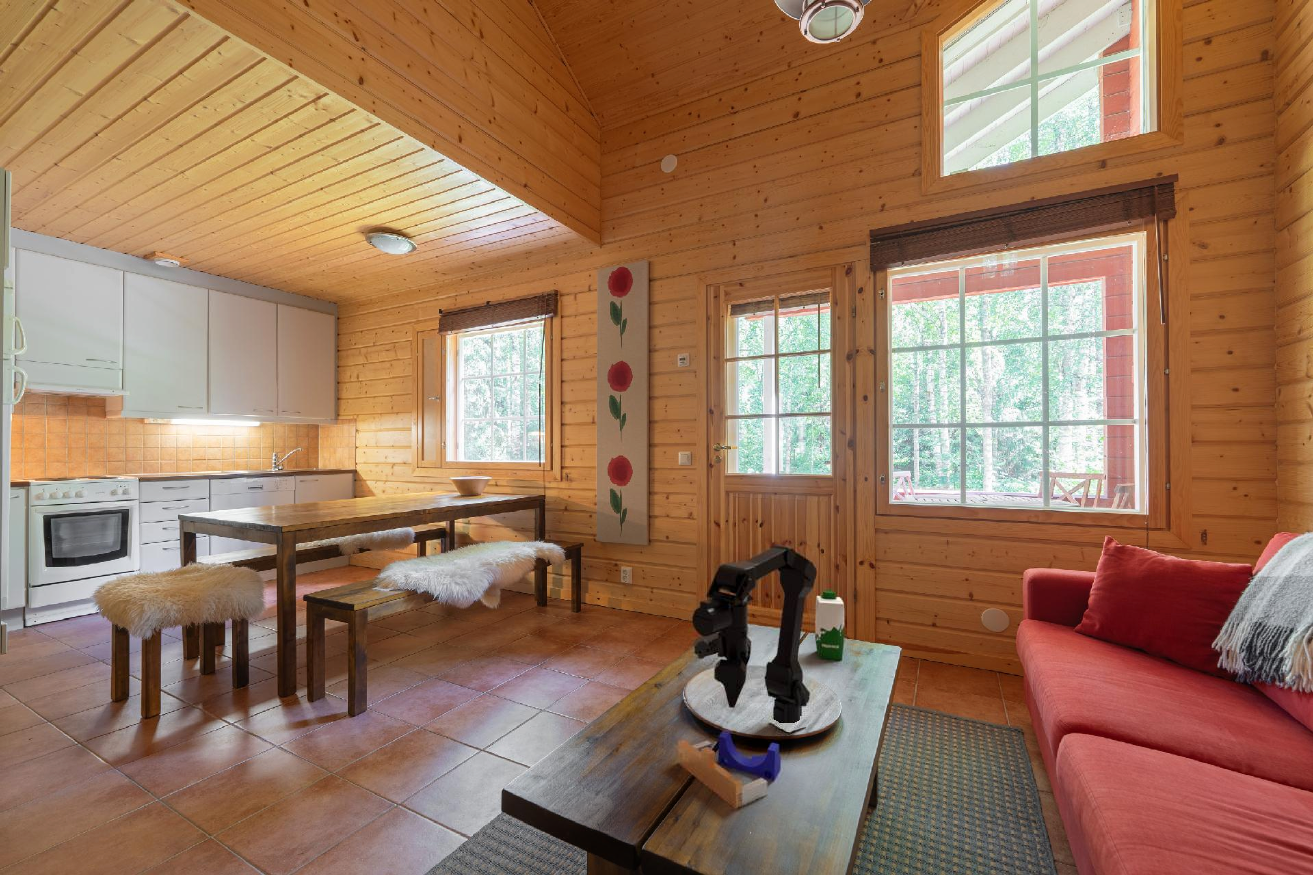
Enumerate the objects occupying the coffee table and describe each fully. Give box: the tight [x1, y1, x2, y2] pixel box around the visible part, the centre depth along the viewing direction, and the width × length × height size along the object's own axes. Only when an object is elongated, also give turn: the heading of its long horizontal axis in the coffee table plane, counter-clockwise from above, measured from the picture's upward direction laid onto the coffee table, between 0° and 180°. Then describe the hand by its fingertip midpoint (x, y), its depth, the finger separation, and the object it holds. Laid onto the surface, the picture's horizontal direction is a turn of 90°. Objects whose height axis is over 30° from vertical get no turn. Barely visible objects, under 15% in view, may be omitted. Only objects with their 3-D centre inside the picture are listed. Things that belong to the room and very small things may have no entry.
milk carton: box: [814, 589, 845, 661], centre depth 183 cm, size 9×9×20 cm
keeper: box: [677, 739, 768, 810], centre depth 114 cm, size 8×18×6 cm, turn 34°
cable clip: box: [717, 729, 782, 782], centre depth 118 cm, size 12×4×6 cm, turn 63°
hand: (733, 697), depth 122 cm, fingers open, 9 cm apart
